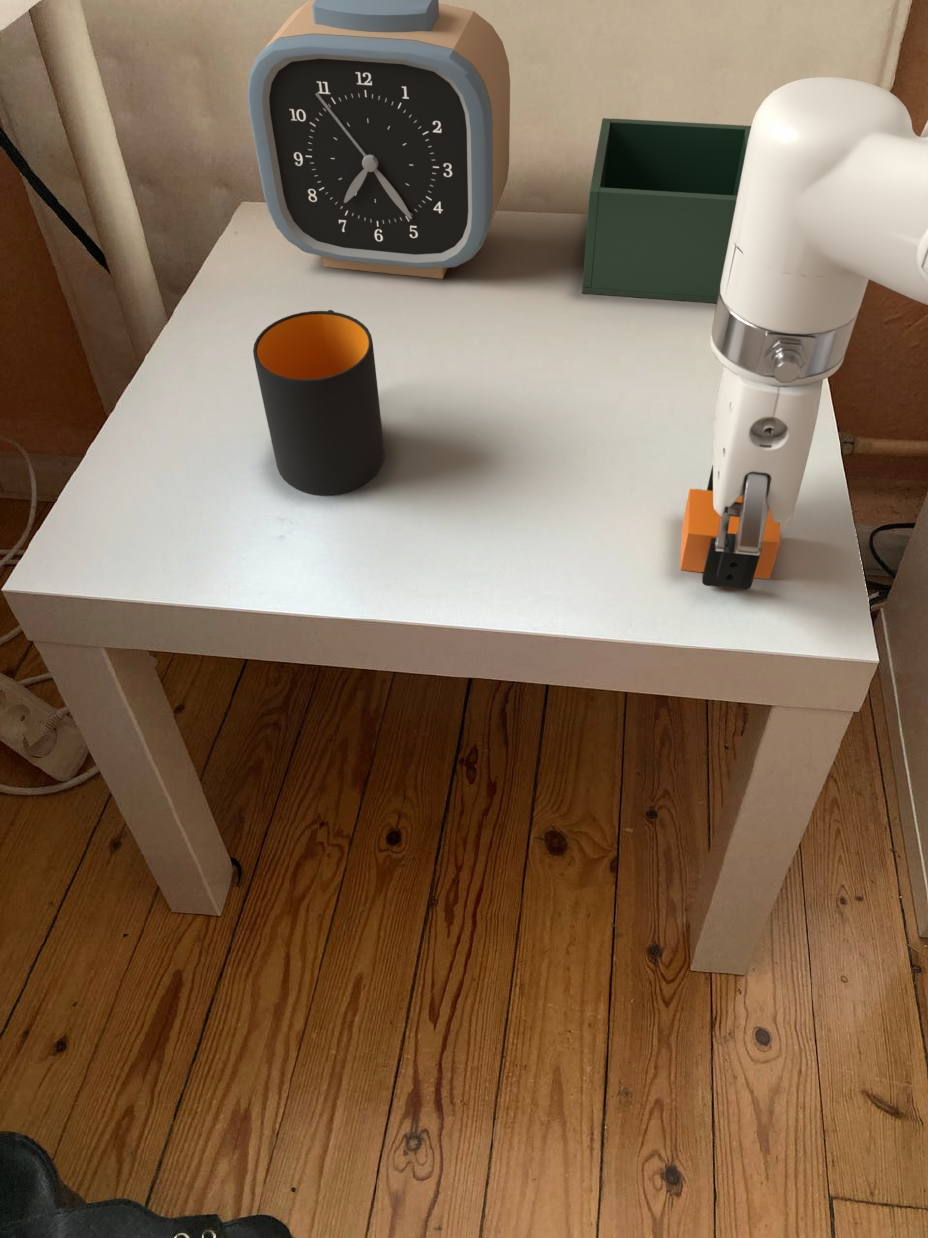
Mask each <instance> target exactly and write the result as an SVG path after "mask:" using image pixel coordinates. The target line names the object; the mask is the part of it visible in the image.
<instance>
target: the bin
mask: <svg viewBox="0 0 928 1238" xmlns="http://www.w3.org/2000/svg"><path fill="white" fill-rule="evenodd" d="M751 126H752V125H743V124H725V123H724V124H723V123H706V122H688V121H687V122H685V121H668V120H667V121H666V120H650V119H648V120H647V119H631V118H630V119H629V118H609V117H607V118H606V117H605V118H604V117H603V118H602V119H601V124H600V130H599V136H598V142H597V147H596V152H595V153H596V154H595V158H594V164H593V170H592V176H591V181H590V187H589V195H588V208H587V221H586V233H585V246H584V247H585V248H584V261H583V274H582V286H581V287H582V289H581V294H587V295H588V294H589V295H601V296H602V295H603V296H613V297H614V296H615V297H616V296H617V297H630V298H641V299H642V298H643V299H655V300H669V301H685V302H696V303H709V304H711V303H713V304H717V299H718V294H719V289H720V284H721V279H722V274H723V269H724V263H725V258H726V253H727V248H728V243H729V238H730V233H731V228H732V222H733V217H734V212H735V207H736V201H737V196H738V191H739V186H740V180H741V175H742V170H743V165H744V159H745V154H746V149H747V143H748V138H749V134H750V130H751Z"/></svg>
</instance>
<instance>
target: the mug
mask: <svg viewBox="0 0 928 1238" xmlns="http://www.w3.org/2000/svg"><path fill="white" fill-rule="evenodd" d="M252 354H253V359H254V365H255V369H256V374H257V379H258V384H259V389H260V393H261V394H260V395H261V398H262V402H263V408H264V413H265V418H266V423H267V426H268V432H269V436H270V440H271V441H270V442H271V445H272V450H273V454H274V460H275V464H276V469H277V470H278V471H277V472H278V474H279V476H280V477H281V478H282V479H283V481H285V482H286V483H287V484H288V485H289V486H291V487H292V488H294V489H296V490H298V491H301V492H303V493H307V494H310V495H311V494H312V495H320V496H333V495H338V494H339V495H340V494H344V493H347V492H352V491H354V490H356V489H358V488H361V487H362V486H364V485H365V484H367V483H369V482H370V481H371V480H373V479H374V477H375V476H376V475H377V474H378V473H379V471H380V469H381V468H382V466H383V464H384V460H385V445H384V436H383V425H382V416H381V407H380V398H379V396H380V395H379V387H378V380H377V369H376V360H375V359H376V358H375V351H374V342H373V337H372V334H371V332H370V330H369V328H368V327H367V326H366V325H365V324H364V323H362V322H361V321H360V320H358V319H357V318H355V317H353V316H351V315H348V314H345V313H342V312H336V311H334V310H332V309H329V310H311V311H304V312H303V311H302V312H298V313H294V314H290V315H287V316H284V317H282V318H280V319H277V320H276V321H274V322H272V323H271V324H269V325H268V326H267V327H266V328H265V329H263V330H262V331H261V332H260V333H259V335H258V336H257V337H256V339H255V341H254V344H253V349H252Z"/></svg>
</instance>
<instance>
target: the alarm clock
mask: <svg viewBox="0 0 928 1238" xmlns="http://www.w3.org/2000/svg"><path fill="white" fill-rule="evenodd" d="M510 75H511V74H510V63H509V59H508V56H507V52H506V49H505V46H504V42H503V39H501V38H500V35H499V34H498V33H497V31H496V29H495V28H494V27H493V24H491V23H489V22H488V21H487V20H486V19H485V18H483V17H482V16H481V15H479V14H478V13H477V12H476V11H474V10H472V9H471V10H470V9H467V8H462V7H458V6H454V5H450V4H445V3H442V2H439V0H308V1H307V2H305V3H304V4H303V5H301V6H300V7H299V8H298V9H296V10H295V11H294V12H292V14H291V15H290V16H289V17H288V18H287V19H286V21H285V22H284V23H283V25H282V26H281V27H280V28H279V29H278V31H277V32H275V34H274V35H273V37H272V38H271V39H270V41H269V42H268V43H267V44H266V45H265V47H263V49H261V51H260V53H258V55H257V56H256V58H255V61H254V63H253V65H252V67H251V69H250V70H249V77H248V84H247V91H246V95H247V103H248V104H247V106H248V115H249V120H250V125H251V131H252V138H253V142H254V149H255V153H256V160H257V164H258V169H259V176H260V181H261V188H262V193H263V197H264V200H265V204H266V208H267V211H268V213H269V215H270V217H271V219H272V221H273V223H274V225H275V227H276V229H277V230H278V231H279V232H280V234H282V236H283V237H284V238H285V239H286V241H288V242H289V243H291V244H292V245H293V246H295V247H296V248H298V249H300V251H302V252H304V253H307V254H311V255H315V256H318V257H322V263H323V267H324V268H333V269H341V270H350V271H351V270H352V271H360V272H370V273H371V272H372V273H382V274H392V275H400V276H401V275H403V276H410V277H411V276H412V277H422V278H430V279H431V278H432V279H441V280H443V279H444V277H445V274H446V273H447V270H448V268H457V267H458V266H460V265H462V264H465V263H466V262H468V261H470V260H472V259H473V258H474V257H475V255H476V254H477V253H478V252H479V251H480V250H481V249H482V247H483V246H484V243H485V240H486V238H487V235H488V233H489V229H490V228H491V226H492V222H493V220H494V217H495V214H496V211H497V209H498V206H499V204H500V201H501V198H502V196H503V193H504V191H505V187H506V185H507V182H508V178H509V177H508V176H509V168H510V139H511V138H510V136H511V135H510V130H511V129H510V127H511V124H510V123H511V122H510V121H511V77H510Z"/></svg>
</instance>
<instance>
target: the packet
mask: <svg viewBox="0 0 928 1238" xmlns="http://www.w3.org/2000/svg"><path fill="white" fill-rule="evenodd" d="M735 502H742V496H741V495H740V497H739V498H738V499H737V500H736V501H735ZM719 518H720V515H719V514H718V513H717V512H716V511H715V510H714V507H713V491H709V490H707V489H699V488H698V489H697V488H689V490H688V495H687V499H686V505H685V510H684V515H683V520H682V526H681V545H680V546H681V547H680V567H679V568H680V571H686V572H695V573H697V572H698V573H703V571H704V567H705V562H706V558H707V554H708V550H709V545H710V541H711V538H716V536H717V530H718V524H719ZM739 518H740V517H735V516H730V522H729V527H728V533H732V534H736V533H737V531H738V526H739ZM780 547H781V522H773V520H772V517H771V514H770V510H768V516H767V520H766V525H765V531H764V536H763V541H762V550H761V554H760V557H759V560H758V564H757V567H756V571H755V574H754V577H753V579H761V580H762V579H764V580H770V578H771V575H772V571H773V568H774V565H775V563H776V558H777V555H778V553H779V550H780Z"/></svg>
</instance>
